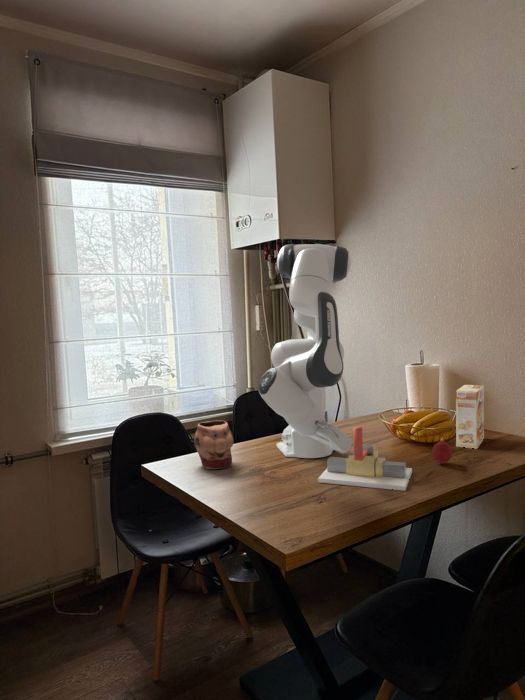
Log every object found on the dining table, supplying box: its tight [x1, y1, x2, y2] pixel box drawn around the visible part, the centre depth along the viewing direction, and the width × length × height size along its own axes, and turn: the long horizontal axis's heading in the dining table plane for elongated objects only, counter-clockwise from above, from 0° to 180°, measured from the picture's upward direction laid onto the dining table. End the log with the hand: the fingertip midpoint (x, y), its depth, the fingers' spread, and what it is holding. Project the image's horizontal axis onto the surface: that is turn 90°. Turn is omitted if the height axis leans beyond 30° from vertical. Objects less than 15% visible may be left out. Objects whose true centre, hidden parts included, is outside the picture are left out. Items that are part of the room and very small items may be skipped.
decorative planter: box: [193, 420, 235, 470], centre depth 168 cm, size 20×12×14 cm, turn 28°
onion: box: [431, 437, 453, 465], centre depth 159 cm, size 6×6×8 cm
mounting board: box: [317, 467, 413, 492], centre depth 150 cm, size 24×16×1 cm, turn 68°
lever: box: [352, 426, 374, 461], centre depth 145 cm, size 13×4×9 cm, turn 158°
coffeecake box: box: [455, 384, 485, 450], centre depth 181 cm, size 15×7×20 cm, turn 148°
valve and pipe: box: [326, 449, 407, 478], centre depth 150 cm, size 22×6×7 cm, turn 68°
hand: (341, 450), depth 138 cm, fingers closed
